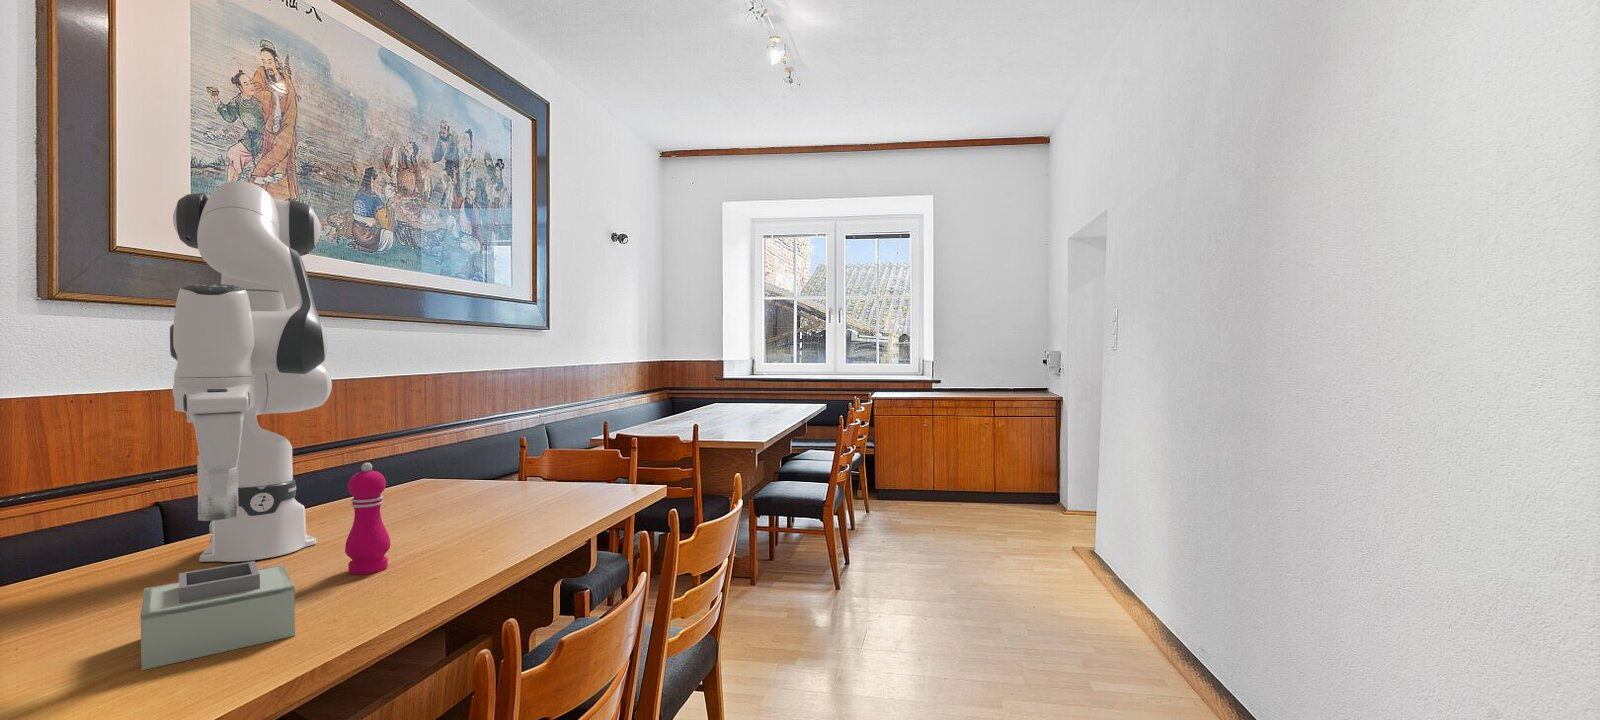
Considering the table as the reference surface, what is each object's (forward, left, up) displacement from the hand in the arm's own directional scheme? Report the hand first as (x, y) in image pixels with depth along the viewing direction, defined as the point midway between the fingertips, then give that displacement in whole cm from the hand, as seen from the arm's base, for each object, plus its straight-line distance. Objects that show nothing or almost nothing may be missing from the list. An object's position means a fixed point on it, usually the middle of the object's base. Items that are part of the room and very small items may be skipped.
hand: (217, 494), depth 99 cm
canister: (0, 0, -3) cm, 3 cm away
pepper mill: (-21, +22, -21) cm, 37 cm away
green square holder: (0, 0, -20) cm, 20 cm away
